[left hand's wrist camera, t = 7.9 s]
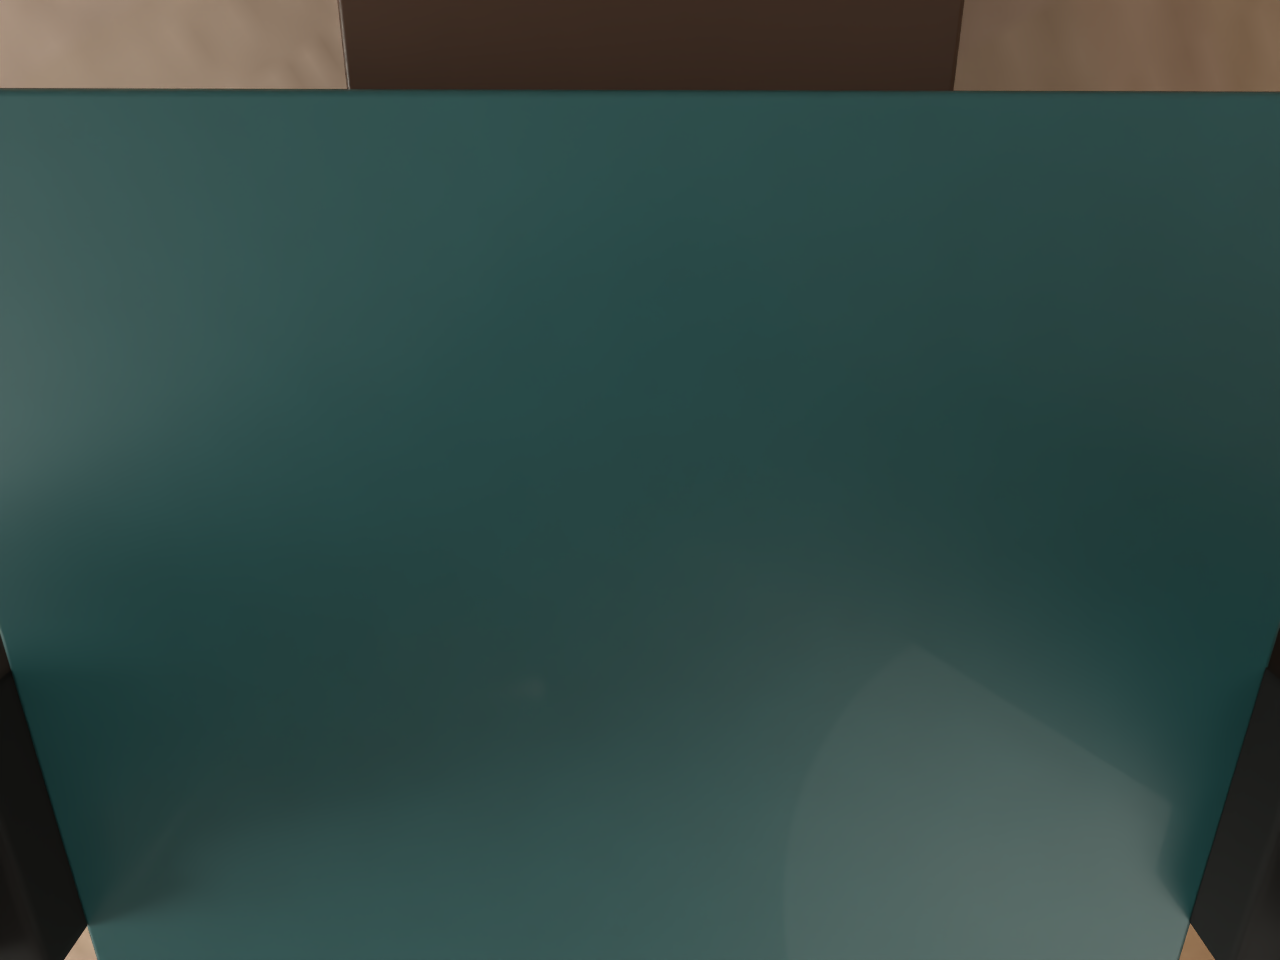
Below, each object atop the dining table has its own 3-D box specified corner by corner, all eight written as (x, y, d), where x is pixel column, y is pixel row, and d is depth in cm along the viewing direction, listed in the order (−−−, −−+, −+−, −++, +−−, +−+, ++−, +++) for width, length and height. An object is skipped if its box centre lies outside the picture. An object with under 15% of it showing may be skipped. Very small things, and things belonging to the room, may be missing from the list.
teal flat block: (954, 856, 14) (1106, 1208, 10) (320, 857, 14) (169, 1212, 10) (1081, 102, 10) (1446, 92, 6) (196, 100, 10) (-168, 87, 6)
